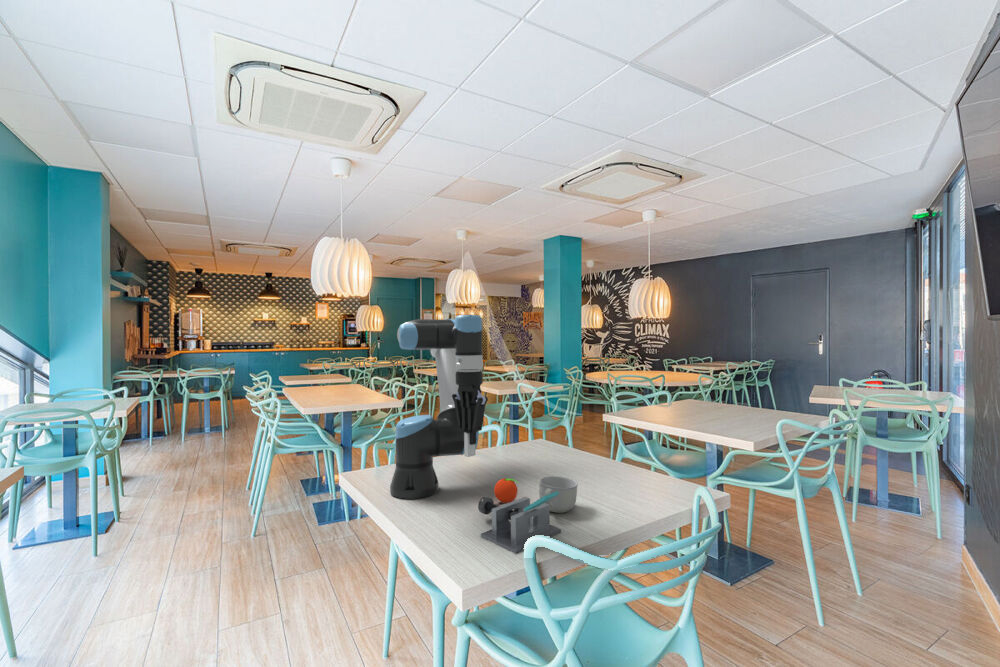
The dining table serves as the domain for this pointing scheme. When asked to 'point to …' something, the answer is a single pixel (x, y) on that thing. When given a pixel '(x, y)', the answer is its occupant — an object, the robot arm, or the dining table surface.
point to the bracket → (519, 524)
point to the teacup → (565, 489)
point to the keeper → (540, 501)
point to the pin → (490, 506)
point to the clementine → (505, 490)
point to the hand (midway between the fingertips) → (470, 455)
